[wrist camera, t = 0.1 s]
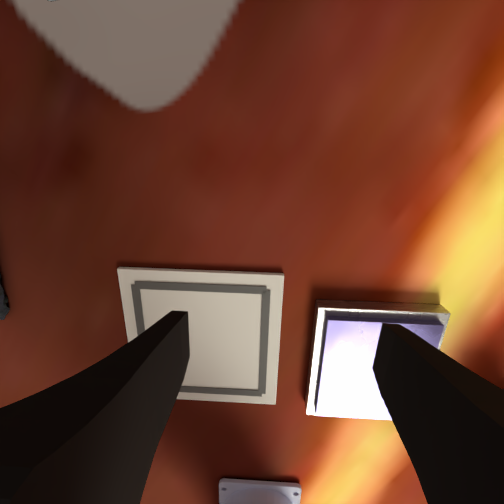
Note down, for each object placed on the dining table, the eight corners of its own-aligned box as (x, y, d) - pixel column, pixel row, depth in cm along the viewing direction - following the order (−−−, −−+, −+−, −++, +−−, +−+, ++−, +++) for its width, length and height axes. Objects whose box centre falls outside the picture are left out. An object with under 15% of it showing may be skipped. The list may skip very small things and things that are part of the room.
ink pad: (411, 408, 25) (422, 427, 23) (304, 402, 25) (307, 421, 23) (440, 304, 21) (455, 318, 19) (316, 299, 21) (320, 312, 20)
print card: (275, 400, 25) (275, 405, 25) (138, 393, 25) (135, 397, 25) (283, 273, 21) (284, 276, 20) (119, 266, 21) (116, 269, 21)
